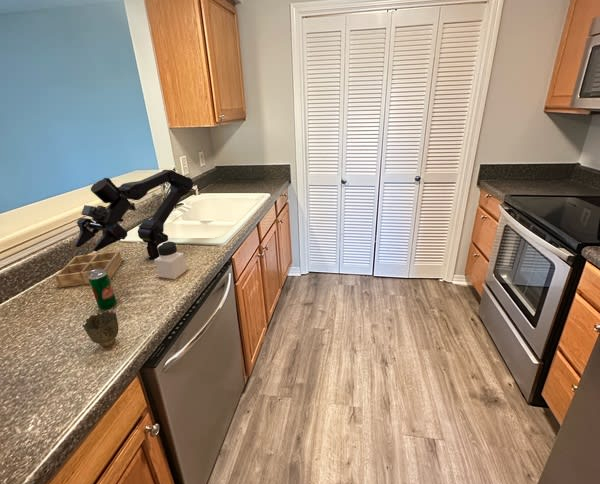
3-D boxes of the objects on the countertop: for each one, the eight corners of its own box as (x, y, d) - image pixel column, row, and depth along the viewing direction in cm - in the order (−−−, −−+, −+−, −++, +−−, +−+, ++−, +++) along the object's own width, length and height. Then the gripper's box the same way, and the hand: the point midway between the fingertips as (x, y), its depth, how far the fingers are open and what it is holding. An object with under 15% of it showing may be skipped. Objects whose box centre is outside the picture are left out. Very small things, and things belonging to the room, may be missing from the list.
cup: (100, 335, 87) (91, 311, 84) (128, 332, 88) (120, 308, 85) (86, 355, 81) (76, 329, 77) (116, 352, 81) (107, 327, 78)
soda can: (109, 311, 98) (97, 277, 93) (95, 310, 99) (82, 276, 94) (120, 301, 102) (110, 268, 97) (107, 300, 103) (95, 267, 98)
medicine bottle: (187, 270, 120) (181, 240, 115) (174, 279, 113) (167, 248, 109) (171, 267, 122) (164, 238, 117) (158, 277, 116) (150, 246, 111)
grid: (122, 261, 129) (119, 250, 127) (109, 280, 115) (105, 269, 113) (78, 266, 127) (74, 256, 125) (59, 287, 112) (54, 276, 110)
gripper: (79, 194, 110) (47, 230, 102) (116, 198, 102) (84, 238, 95) (103, 215, 119) (75, 249, 111) (139, 220, 111) (111, 258, 103)
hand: (85, 248), depth 105 cm, fingers open, 9 cm apart
